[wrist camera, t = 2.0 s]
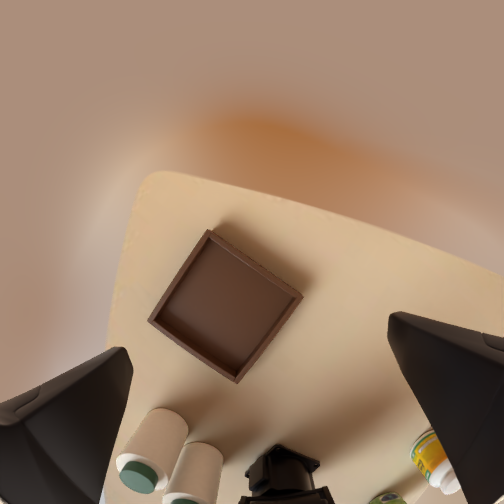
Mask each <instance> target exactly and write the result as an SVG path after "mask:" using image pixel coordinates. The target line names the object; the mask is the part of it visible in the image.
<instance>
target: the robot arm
mask: <svg viewBox="0 0 504 504" xmlns="http://www.w3.org/2000/svg"><path fill="white" fill-rule="evenodd" d="M387 338H388V342H389V344H390V346H391V348H392V351H393V353H394V355H395V357H396V360H397V362H398V364H399V367H400V369H401V371H402V373H403V375H404V377H405V379H406V381H407V382H408V384H409V386H410V388H411V389H412V391H413V393H414V395H415V397H416V398H417V400H418V402H419V404H420V406H421V407H422V409H423V411H424V413H425V415H426V417H427V418H428V420H429V422H430V424H431V426H432V428H433V430H434V432H435V434H436V436H437V438H438V440H439V442H440V444H441V446H442V448H443V450H444V452H445V454H446V456H447V458H448V460H449V462H450V464H451V466H452V468H453V469H454V473H455V475H456V477H457V479H458V482H459V484H460V486H461V488H462V491H463V493H464V495H465V498H466V500H467V502H468V504H498V503H499V502H501V501H502V500H503V499H504V338H502V337H498V336H494V335H490V334H486V333H482V334H481V332H478V331H474V330H470V329H466V328H462V327H458V326H454V325H451V324H447V323H443V322H439V321H435V320H432V319H428V318H424V317H421V316H417V315H413V314H409V313H406V312H402V311H399V312H395V313H391V314H390V316H389V321H388V333H387ZM132 376H133V366H132V363H131V361H130V358H129V355H128V353H127V350H126V349H125V348H124V347H113V348H111V349H109V350H107V351H105V352H103V353H101V354H100V355H98V356H96V357H94V358H92V359H90V360H88V361H86V362H84V363H83V364H80V365H79V366H77V367H75V368H73V369H71V370H69V371H67V372H65V373H63V374H61V375H59V376H57V377H55V378H53V379H52V380H50V381H48V382H45V383H44V384H42V385H39V386H38V387H36V388H34V389H32V390H29V391H27V392H25V393H23V394H21V395H19V396H16V397H14V398H12V399H10V400H7V401H5V402H2V403H0V504H99V501H100V497H101V493H102V489H103V485H104V481H105V477H106V473H107V469H108V466H109V462H110V458H111V455H112V451H113V448H114V444H115V441H116V438H117V434H118V431H119V428H120V424H121V421H122V418H123V415H124V412H125V408H126V404H127V400H128V395H129V390H130V386H131V381H132ZM277 448H280V449H277ZM315 464H317V465H315ZM319 466H320V463H319V461H317V460H314V459H312V458H309V457H307V456H304V455H302V454H300V453H297V452H295V451H293V450H291V449H288V448H286V447H284V446H282V445H275V446H274V447H273V448H272V449H271V450H270V451H268V452H267V453H266V454H265V455H263V456H261V457H260V458H259V459H258V460H257V461H256V462H255V463H254V464H252V465H251V466H250V469H248V470H247V471H246V472H245V477H247V478H249V490H250V491H252V497H247V496H241V499H240V501H239V503H238V504H335V503H334V500H333V498H332V496H331V494H330V491H329V489H328V487H327V486H324V487H322V488H318V489H315V486H314V481H313V477H312V473H313V472H314V471H315V470H316V469H317V468H318V467H319ZM248 474H249V475H248Z"/></svg>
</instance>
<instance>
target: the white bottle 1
mask: <svg viewBox="0 0 504 504" xmlns="http://www.w3.org/2000/svg"><path fill="white" fill-rule="evenodd" d="M187 435H188V426H187V424H186V422H185V421H184V419H183V418H182V417H181V416H180V415H178V414H177V413H175V412H173V411H171V410H168V409H163V408H157V409H154V410H151V411H150V412H149V413H148V414H147V415H146V417H145V418H144V420H143V421H142V423H141V424H140V425H139V427H138V428H137V430H136V431H135V433H134V434H133V436H132V437H131V438H130V440H129V441H128V443H127V444H126V446H125V447H124V449H123V450H122V451H121V453H120V454H119V456H118V457H117V459H116V466H117V468H118V470H119V472H120V474H119V476H120V479H121V481H122V482H123V483H124V484H125V485H126V486H127V487H128V488H130V489H132V490H133V491H136V492H138V493H143V494H149V493H152V492H153V491H154V490H161V489H164V488H165V487H167V485H168V483H169V481H170V478H171V476H172V473H173V471H174V468H175V466H176V463H177V461H178V458H179V456H180V453H181V451H182V448H183V445H184V443H185V440H186V438H187Z"/></svg>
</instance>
